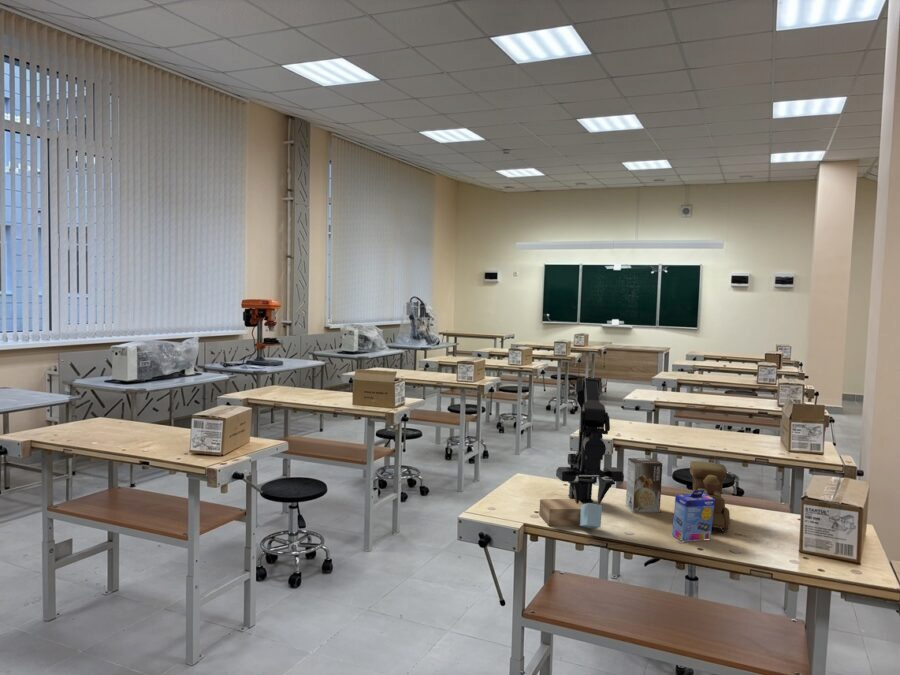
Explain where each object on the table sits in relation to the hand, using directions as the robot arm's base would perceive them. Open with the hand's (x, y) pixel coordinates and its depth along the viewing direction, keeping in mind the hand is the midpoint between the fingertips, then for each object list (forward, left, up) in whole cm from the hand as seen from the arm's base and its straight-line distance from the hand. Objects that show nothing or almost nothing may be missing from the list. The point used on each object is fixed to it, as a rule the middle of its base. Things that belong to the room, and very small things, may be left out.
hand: (588, 503), depth 181 cm
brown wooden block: (+5, -6, -7) cm, 11 cm away
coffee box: (-25, -15, -7) cm, 30 cm away
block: (0, 0, -4) cm, 4 cm away
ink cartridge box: (-28, +9, -7) cm, 30 cm away
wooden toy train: (-40, -3, -8) cm, 41 cm away
